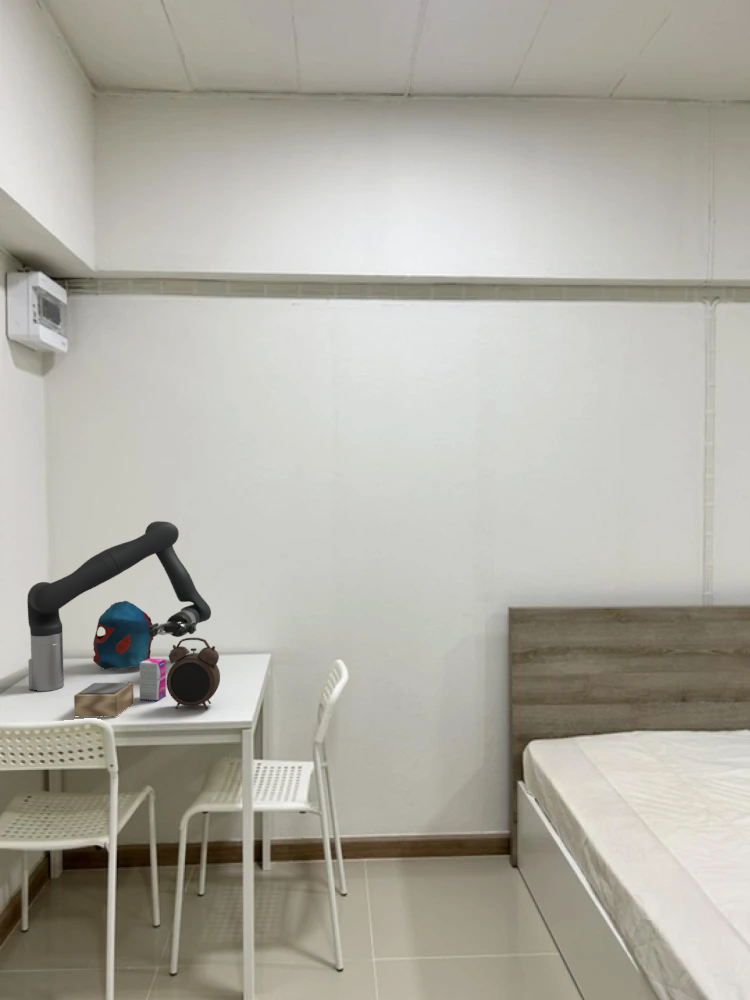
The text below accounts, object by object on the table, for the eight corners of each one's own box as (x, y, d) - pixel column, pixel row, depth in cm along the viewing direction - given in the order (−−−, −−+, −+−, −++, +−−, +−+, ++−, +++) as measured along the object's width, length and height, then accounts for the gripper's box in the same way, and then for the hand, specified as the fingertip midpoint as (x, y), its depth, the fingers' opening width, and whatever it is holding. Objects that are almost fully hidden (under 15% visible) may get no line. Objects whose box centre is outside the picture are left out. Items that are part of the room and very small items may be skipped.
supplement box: (157, 702, 215) (156, 663, 215) (139, 701, 216) (138, 662, 216) (167, 696, 221) (166, 658, 221) (148, 695, 222) (148, 657, 222)
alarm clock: (164, 712, 206) (163, 641, 205) (173, 704, 213) (171, 635, 212) (215, 712, 205) (214, 640, 204) (222, 704, 212) (221, 635, 212)
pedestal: (74, 717, 202) (74, 694, 202) (93, 703, 214) (92, 682, 214) (117, 717, 202) (116, 694, 202) (133, 703, 214) (133, 681, 214)
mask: (102, 688, 255) (73, 622, 256) (153, 663, 268) (126, 600, 269) (119, 681, 242) (89, 611, 243) (172, 655, 255) (143, 589, 256)
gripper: (160, 612, 246) (142, 622, 230) (202, 611, 246) (187, 621, 230) (161, 634, 247) (143, 645, 231) (202, 633, 246) (188, 645, 230)
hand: (165, 633), depth 230 cm, fingers open, 8 cm apart
